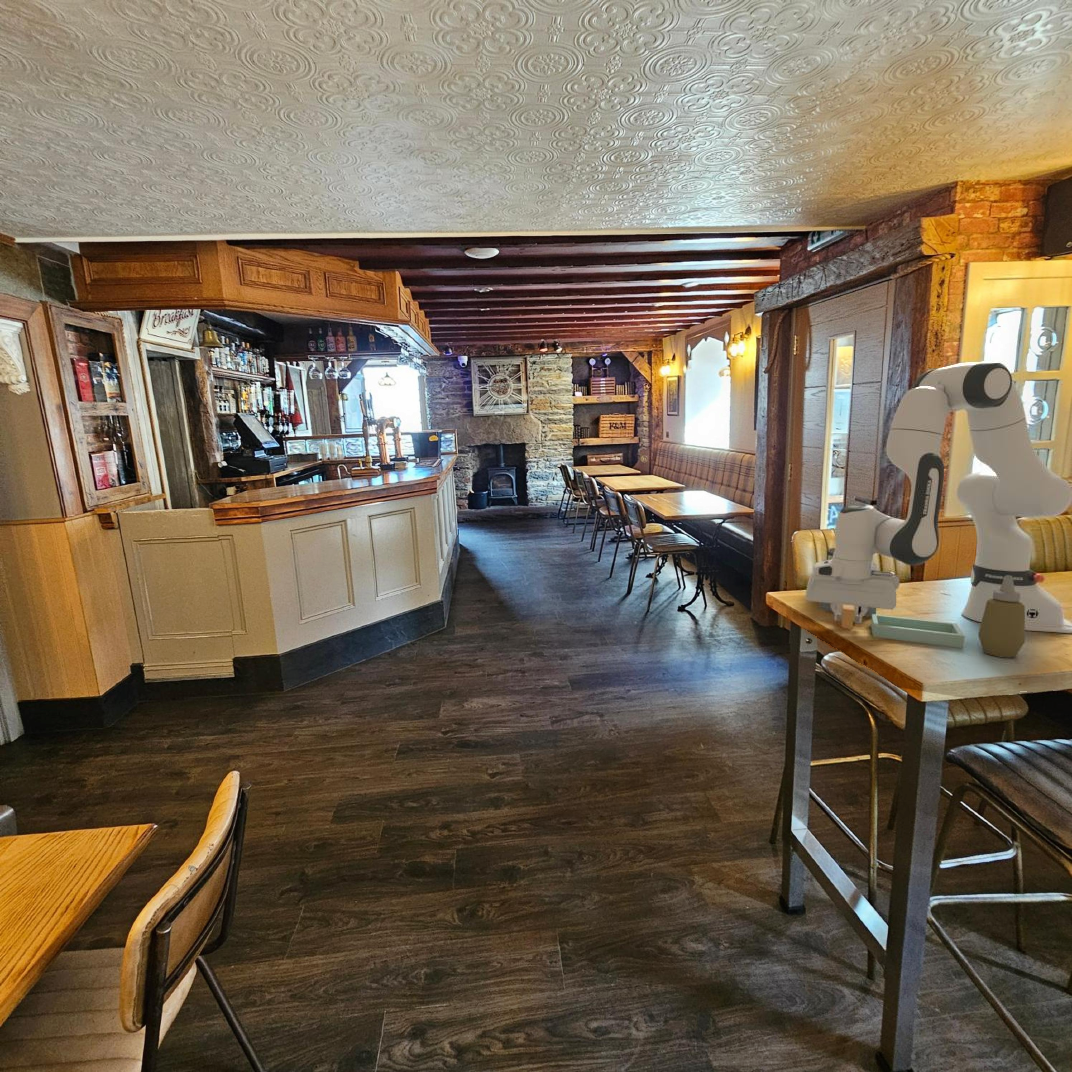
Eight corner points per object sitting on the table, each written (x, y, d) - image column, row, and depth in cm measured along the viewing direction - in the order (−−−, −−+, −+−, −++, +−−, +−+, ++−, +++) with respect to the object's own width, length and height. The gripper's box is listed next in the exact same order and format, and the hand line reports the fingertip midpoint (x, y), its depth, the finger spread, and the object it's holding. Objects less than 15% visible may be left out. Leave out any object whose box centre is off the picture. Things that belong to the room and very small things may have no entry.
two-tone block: (856, 615, 156) (858, 592, 155) (858, 629, 144) (860, 604, 143) (836, 613, 158) (837, 590, 157) (836, 626, 147) (837, 602, 146)
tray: (955, 635, 139) (956, 623, 139) (963, 648, 131) (964, 635, 130) (870, 625, 148) (871, 613, 147) (872, 636, 139) (873, 625, 138)
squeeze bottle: (1022, 663, 122) (1033, 582, 119) (975, 654, 127) (984, 576, 124) (1022, 652, 128) (1033, 575, 125) (977, 644, 133) (986, 570, 130)
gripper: (899, 569, 141) (894, 623, 143) (808, 562, 150) (805, 612, 153) (901, 575, 135) (896, 630, 138) (807, 567, 145) (803, 619, 147)
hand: (847, 621), depth 145 cm, fingers open, 3 cm apart
